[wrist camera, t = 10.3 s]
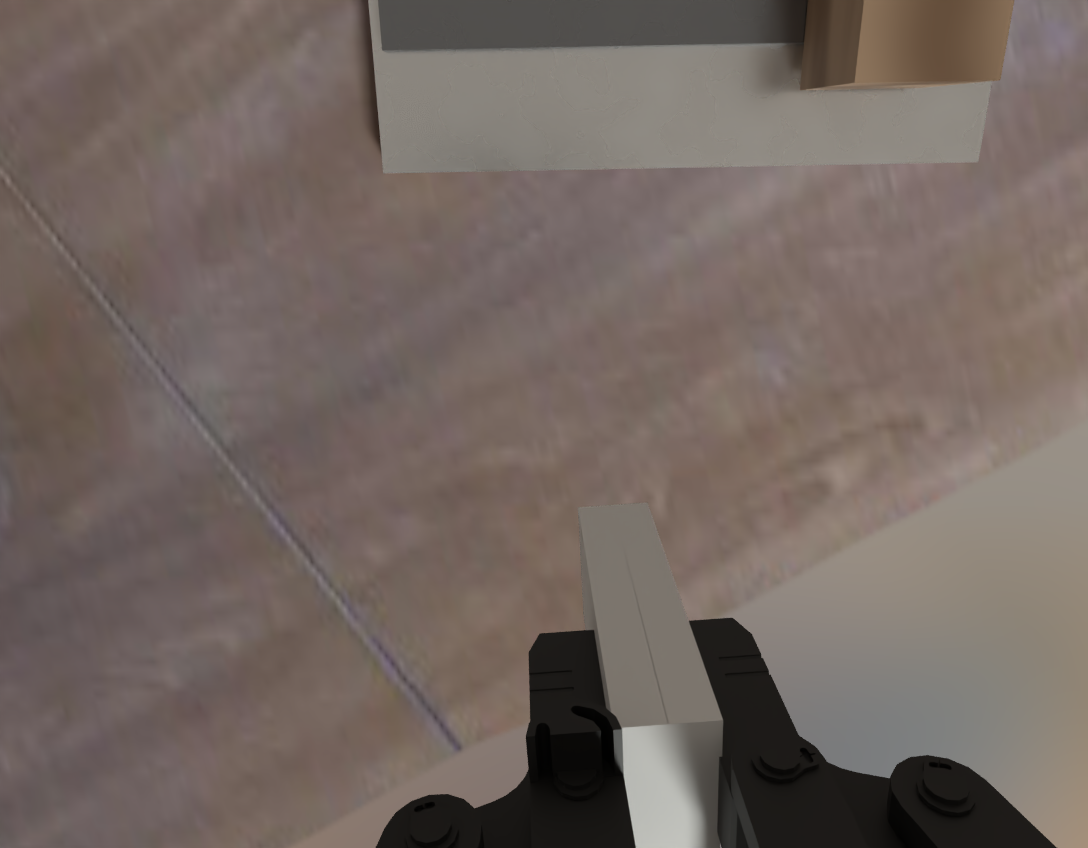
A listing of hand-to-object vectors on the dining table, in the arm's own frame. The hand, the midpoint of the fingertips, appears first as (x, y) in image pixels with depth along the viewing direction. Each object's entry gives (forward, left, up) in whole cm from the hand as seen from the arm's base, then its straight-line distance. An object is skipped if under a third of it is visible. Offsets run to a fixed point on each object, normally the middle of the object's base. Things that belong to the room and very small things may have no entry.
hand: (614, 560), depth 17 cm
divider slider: (+12, +15, -20) cm, 28 cm away
